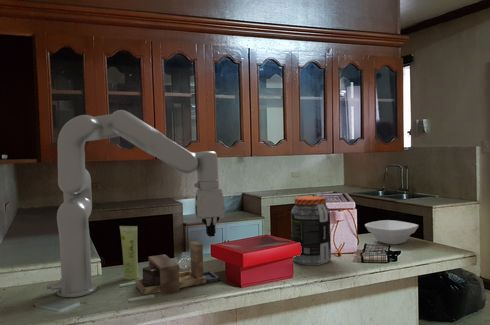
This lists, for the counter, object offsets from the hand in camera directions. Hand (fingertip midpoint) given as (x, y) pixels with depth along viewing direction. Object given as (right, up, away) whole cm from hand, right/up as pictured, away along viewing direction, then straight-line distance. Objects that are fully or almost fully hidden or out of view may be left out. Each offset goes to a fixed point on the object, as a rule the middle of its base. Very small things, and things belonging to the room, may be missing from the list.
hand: (211, 235), depth 154 cm
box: (-18, -17, -9) cm, 26 cm away
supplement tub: (+39, -14, +19) cm, 46 cm away
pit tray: (-1, -16, 0) cm, 16 cm away
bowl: (+81, -11, +45) cm, 93 cm away
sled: (-13, -16, -6) cm, 22 cm away
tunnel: (-16, -16, -7) cm, 24 cm away
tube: (-30, -16, +4) cm, 34 cm away
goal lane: (-24, -17, -11) cm, 32 cm away
